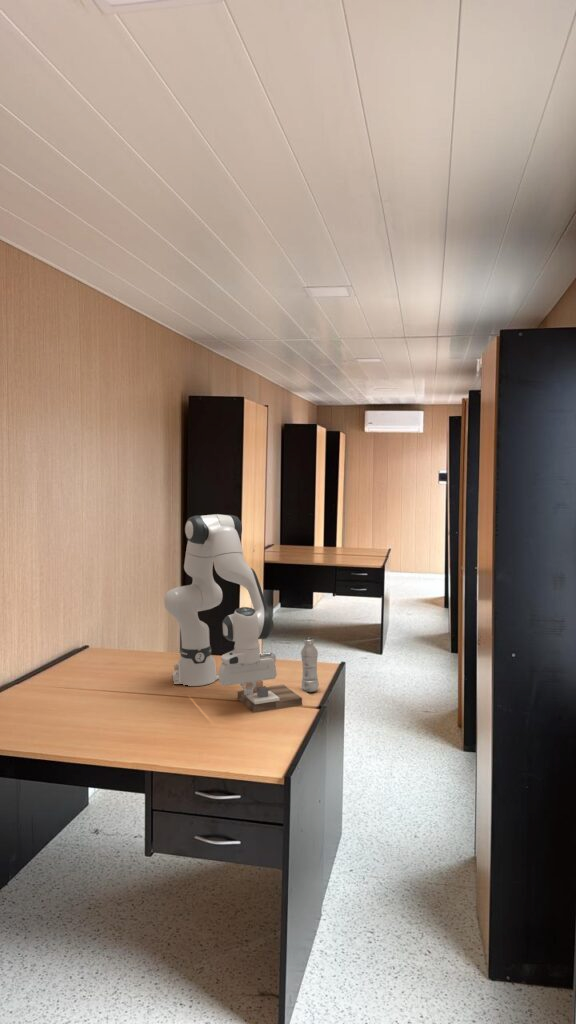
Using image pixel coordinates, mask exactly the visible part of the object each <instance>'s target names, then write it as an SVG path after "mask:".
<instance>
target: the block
mask: <svg viewBox="0 0 576 1024" xmlns="http://www.w3.org/2000/svg"><path fill="white" fill-rule="evenodd" d="M251 685H252V684H251V682H248V683H246V686H245V688H246V689H249V688H250V687H251ZM261 686H264V680H262V681H256V686H255V688H254V689H253V693H257V687H261Z"/></svg>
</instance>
